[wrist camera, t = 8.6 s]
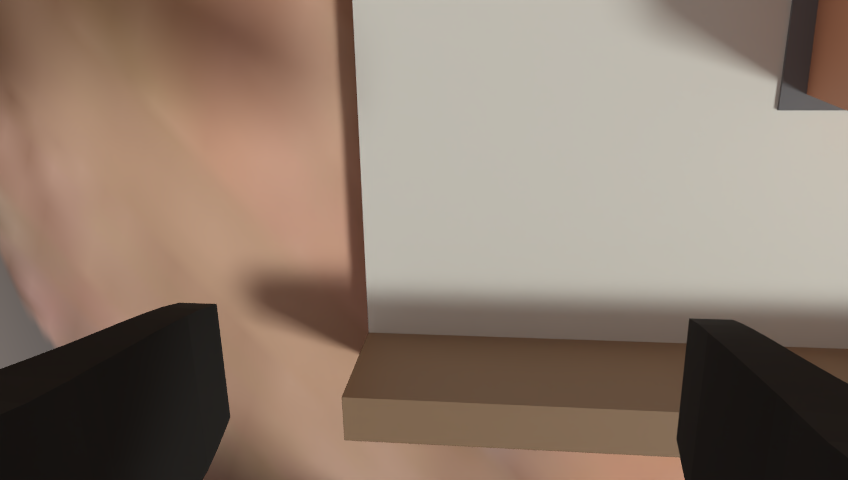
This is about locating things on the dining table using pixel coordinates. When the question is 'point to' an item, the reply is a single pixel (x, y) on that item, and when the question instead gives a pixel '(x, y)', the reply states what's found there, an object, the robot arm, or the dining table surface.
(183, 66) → the dining table surface
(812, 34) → the pad
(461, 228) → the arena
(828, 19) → the bar
